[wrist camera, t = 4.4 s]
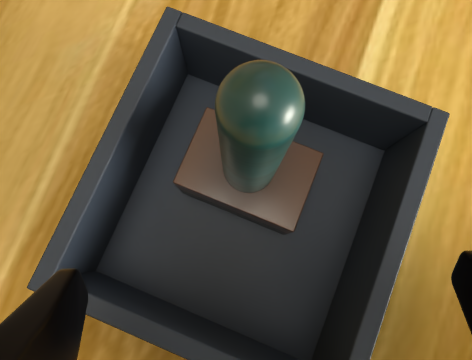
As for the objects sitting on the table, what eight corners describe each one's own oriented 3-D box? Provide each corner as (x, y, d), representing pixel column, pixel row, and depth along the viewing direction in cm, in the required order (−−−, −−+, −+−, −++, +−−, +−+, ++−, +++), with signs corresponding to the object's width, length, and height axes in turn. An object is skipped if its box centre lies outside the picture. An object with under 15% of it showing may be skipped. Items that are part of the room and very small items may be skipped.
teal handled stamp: (310, 168, 21) (409, 60, 9) (284, 235, 20) (354, 214, 8) (210, 128, 21) (181, -25, 9) (182, 192, 20) (111, 116, 9)
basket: (398, 146, 22) (450, 112, 16) (317, 382, 19) (347, 431, 14) (182, 62, 22) (166, 5, 17) (79, 278, 20) (25, 288, 15)
